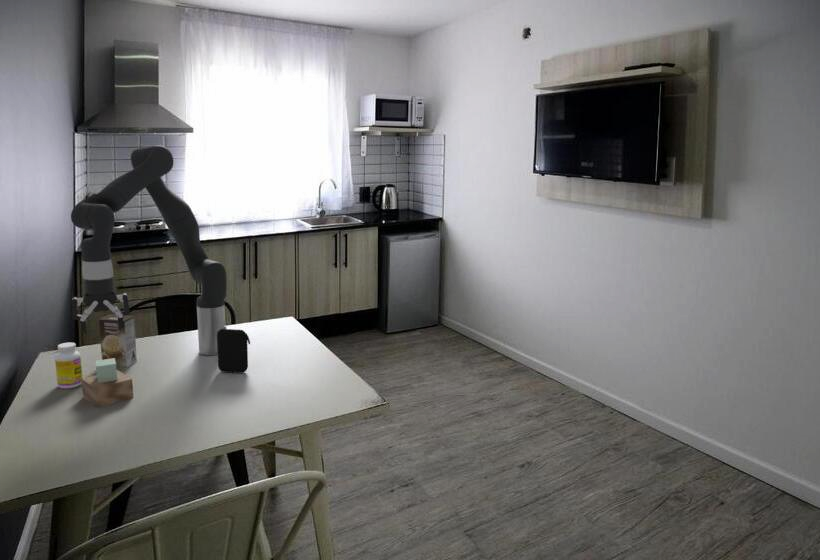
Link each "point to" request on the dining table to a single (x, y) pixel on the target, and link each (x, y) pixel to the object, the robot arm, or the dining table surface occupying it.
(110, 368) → the sage cube
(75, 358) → the supplement bottle
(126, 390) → the walnut block
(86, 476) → the dining table surface
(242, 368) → the carrying case or bag
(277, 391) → the dining table surface
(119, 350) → the coffee box
